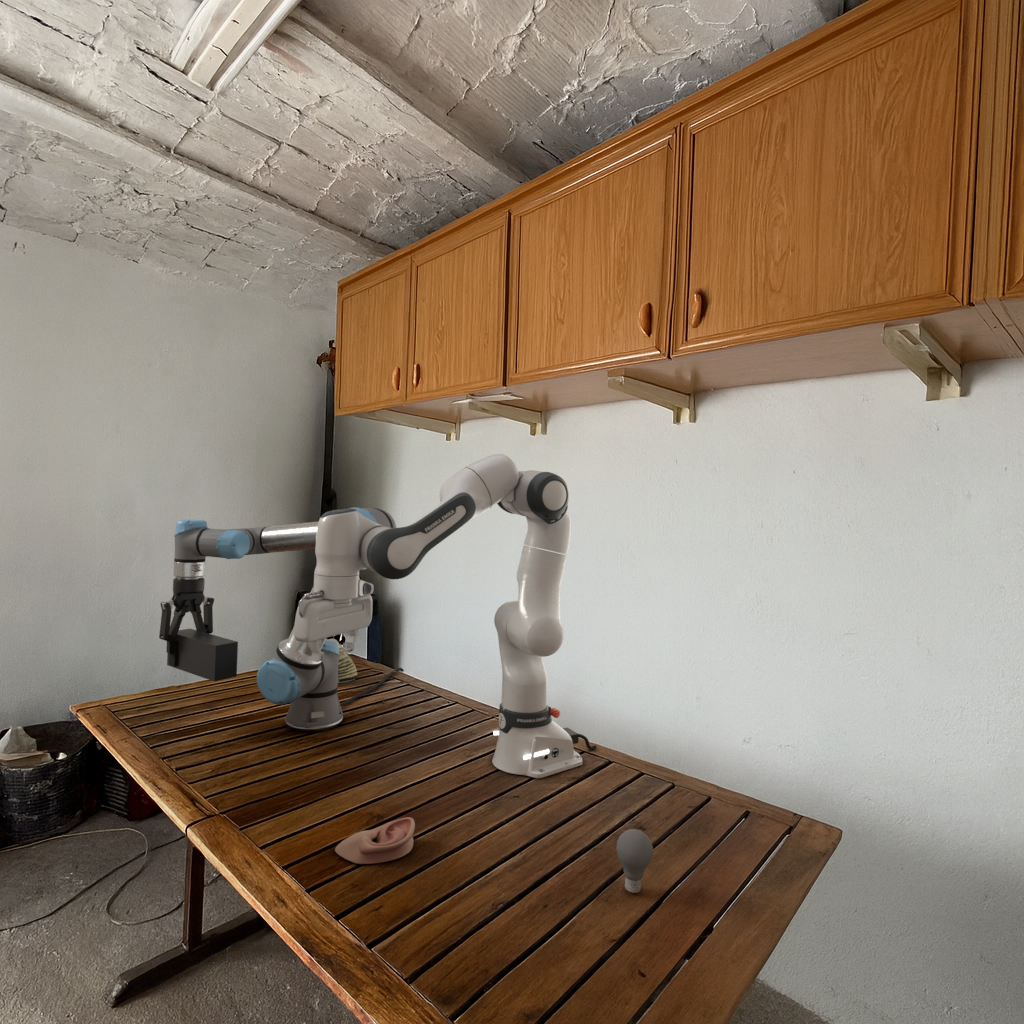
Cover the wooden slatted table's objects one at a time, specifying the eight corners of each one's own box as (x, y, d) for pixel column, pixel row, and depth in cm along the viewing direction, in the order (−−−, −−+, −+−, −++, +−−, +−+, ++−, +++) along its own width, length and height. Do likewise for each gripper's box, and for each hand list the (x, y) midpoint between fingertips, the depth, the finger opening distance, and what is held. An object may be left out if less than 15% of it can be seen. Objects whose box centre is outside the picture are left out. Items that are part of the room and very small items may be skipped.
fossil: (297, 682, 213) (299, 637, 212) (348, 673, 225) (349, 631, 225) (308, 688, 206) (310, 642, 206) (360, 679, 218) (361, 636, 218)
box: (167, 665, 170) (168, 631, 169) (189, 660, 175) (190, 628, 174) (214, 681, 157) (215, 645, 157) (236, 676, 162) (238, 641, 162)
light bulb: (610, 879, 108) (613, 822, 108) (644, 879, 109) (647, 822, 109) (619, 902, 102) (622, 840, 102) (655, 901, 103) (658, 840, 103)
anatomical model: (327, 836, 111) (356, 806, 122) (326, 858, 111) (355, 826, 122) (398, 848, 108) (421, 815, 119) (397, 871, 108) (420, 836, 119)
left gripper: (160, 581, 159) (156, 672, 160) (230, 576, 175) (226, 659, 176) (145, 578, 164) (141, 667, 164) (214, 573, 180) (211, 654, 180)
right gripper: (313, 596, 118) (310, 669, 118) (378, 584, 137) (375, 648, 137) (287, 592, 120) (284, 664, 121) (354, 581, 139) (352, 644, 139)
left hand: (185, 662), depth 170 cm, fingers closed on box, 6 cm apart
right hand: (333, 656), depth 129 cm, fingers open, 8 cm apart
